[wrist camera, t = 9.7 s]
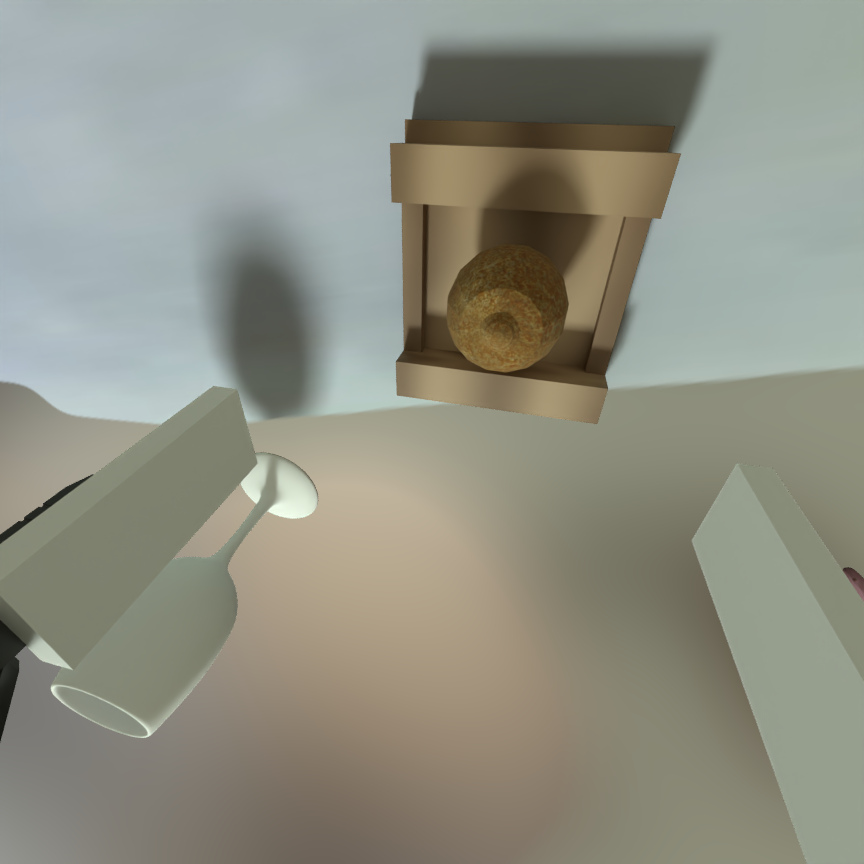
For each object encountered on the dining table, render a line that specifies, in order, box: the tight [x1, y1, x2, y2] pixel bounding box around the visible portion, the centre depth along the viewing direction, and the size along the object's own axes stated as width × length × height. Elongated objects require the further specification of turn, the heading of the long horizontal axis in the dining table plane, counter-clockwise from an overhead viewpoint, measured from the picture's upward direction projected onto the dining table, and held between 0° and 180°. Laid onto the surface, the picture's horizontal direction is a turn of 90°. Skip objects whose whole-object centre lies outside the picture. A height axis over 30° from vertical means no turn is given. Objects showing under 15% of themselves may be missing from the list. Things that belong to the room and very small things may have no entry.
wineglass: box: [51, 453, 318, 738], centre depth 34 cm, size 9×9×21 cm
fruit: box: [447, 244, 569, 372], centre depth 22 cm, size 6×6×8 cm
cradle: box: [390, 119, 681, 424], centre depth 25 cm, size 13×16×4 cm
